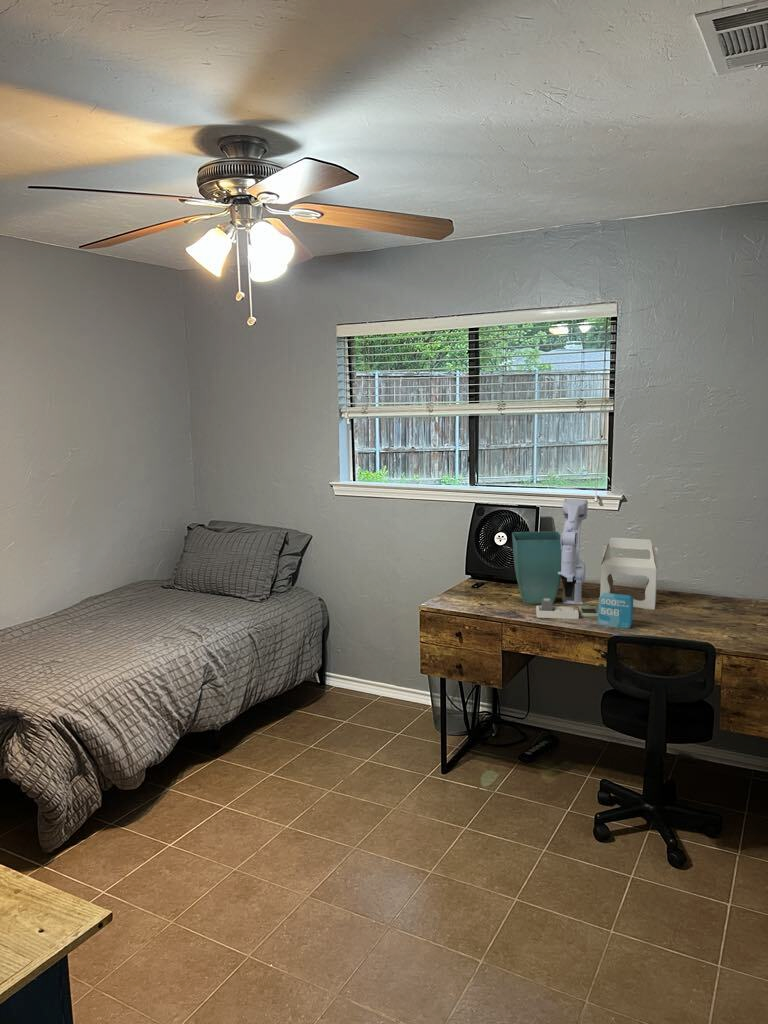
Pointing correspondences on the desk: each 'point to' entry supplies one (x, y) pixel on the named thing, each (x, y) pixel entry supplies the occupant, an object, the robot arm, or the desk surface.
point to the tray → (588, 608)
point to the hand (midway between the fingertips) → (567, 595)
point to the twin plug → (546, 604)
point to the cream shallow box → (558, 612)
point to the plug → (569, 597)
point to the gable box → (631, 570)
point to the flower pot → (537, 564)
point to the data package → (615, 610)
